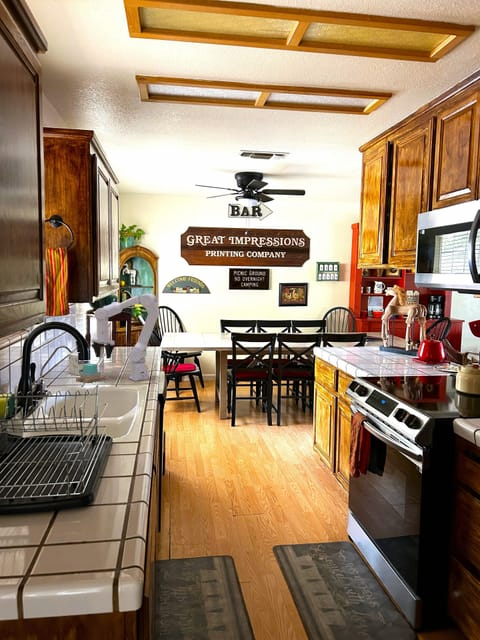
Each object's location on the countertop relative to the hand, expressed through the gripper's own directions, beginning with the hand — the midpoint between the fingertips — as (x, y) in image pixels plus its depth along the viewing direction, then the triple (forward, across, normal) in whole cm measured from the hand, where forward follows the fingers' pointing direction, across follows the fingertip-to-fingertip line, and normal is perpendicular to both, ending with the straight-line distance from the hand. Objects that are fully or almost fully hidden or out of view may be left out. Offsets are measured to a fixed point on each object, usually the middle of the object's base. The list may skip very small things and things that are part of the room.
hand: (103, 357), depth 248 cm
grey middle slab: (+9, 0, +9) cm, 12 cm away
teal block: (+6, 0, +9) cm, 11 cm away
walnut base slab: (+11, 0, +8) cm, 14 cm away
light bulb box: (+11, +20, -1) cm, 23 cm away
